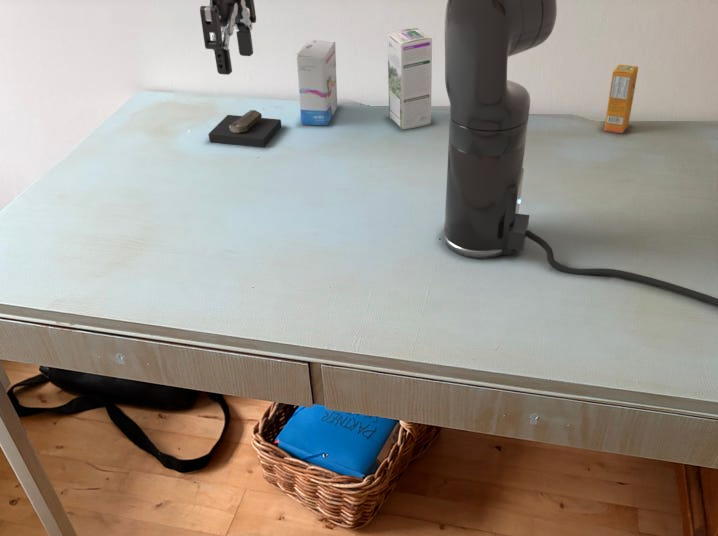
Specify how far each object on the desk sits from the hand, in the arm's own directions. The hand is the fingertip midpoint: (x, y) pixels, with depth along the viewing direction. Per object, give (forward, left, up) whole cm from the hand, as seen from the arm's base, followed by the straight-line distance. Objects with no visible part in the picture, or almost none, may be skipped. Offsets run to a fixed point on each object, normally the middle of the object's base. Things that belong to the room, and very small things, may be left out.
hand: (236, 64), depth 120 cm
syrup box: (-26, -11, -12) cm, 31 cm away
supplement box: (-60, -15, -12) cm, 63 cm away
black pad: (0, 0, -12) cm, 12 cm away
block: (0, 0, -11) cm, 11 cm away
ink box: (-10, -10, -12) cm, 19 cm away
